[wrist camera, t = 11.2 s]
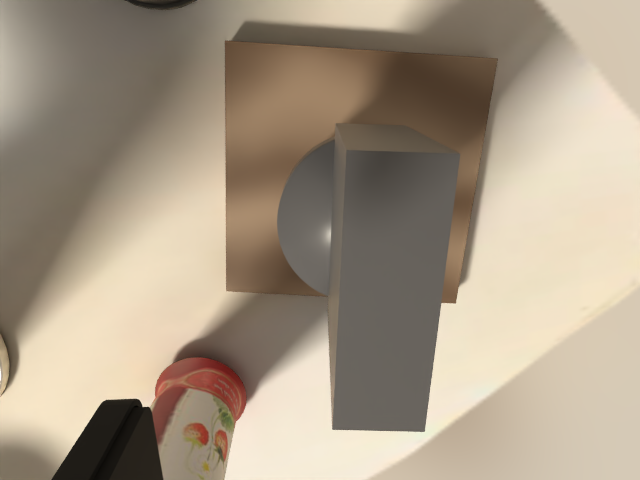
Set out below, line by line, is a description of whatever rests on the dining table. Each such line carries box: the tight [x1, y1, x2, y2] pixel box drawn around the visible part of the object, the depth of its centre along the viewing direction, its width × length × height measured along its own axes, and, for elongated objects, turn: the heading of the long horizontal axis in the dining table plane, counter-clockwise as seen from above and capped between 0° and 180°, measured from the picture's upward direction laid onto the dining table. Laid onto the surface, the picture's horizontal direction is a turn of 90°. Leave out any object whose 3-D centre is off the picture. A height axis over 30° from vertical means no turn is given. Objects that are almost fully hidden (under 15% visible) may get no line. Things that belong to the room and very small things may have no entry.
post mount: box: [225, 41, 498, 303], centre depth 27 cm, size 16×16×8 cm
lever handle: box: [277, 123, 460, 432], centre depth 19 cm, size 8×9×10 cm
